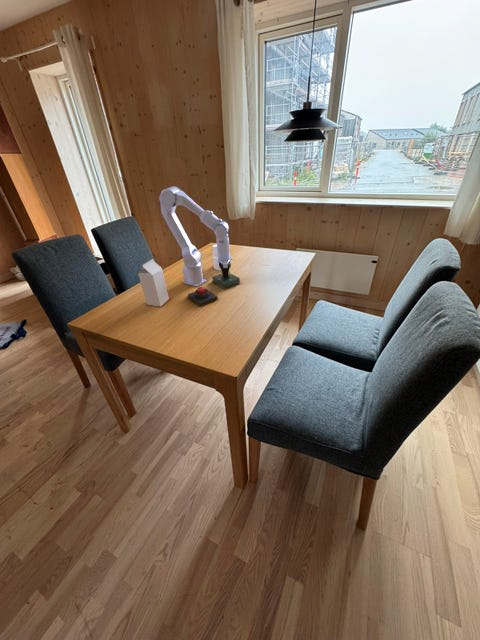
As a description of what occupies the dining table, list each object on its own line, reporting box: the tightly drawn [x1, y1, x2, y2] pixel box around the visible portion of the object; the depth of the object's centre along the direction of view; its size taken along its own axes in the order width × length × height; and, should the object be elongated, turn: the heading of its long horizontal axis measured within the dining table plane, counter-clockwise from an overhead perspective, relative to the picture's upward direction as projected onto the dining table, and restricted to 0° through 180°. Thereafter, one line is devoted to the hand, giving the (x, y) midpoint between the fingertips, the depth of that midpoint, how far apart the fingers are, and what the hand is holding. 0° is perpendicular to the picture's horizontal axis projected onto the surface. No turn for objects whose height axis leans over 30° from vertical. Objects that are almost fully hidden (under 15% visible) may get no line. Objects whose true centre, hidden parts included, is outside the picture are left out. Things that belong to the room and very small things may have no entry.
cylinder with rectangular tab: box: [211, 244, 221, 271], centre depth 146 cm, size 9×9×12 cm
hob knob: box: [219, 268, 231, 278], centre depth 129 cm, size 5×2×4 cm, turn 97°
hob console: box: [211, 272, 241, 290], centre depth 131 cm, size 11×9×3 cm
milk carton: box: [137, 258, 170, 307], centre depth 114 cm, size 7×7×19 cm
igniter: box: [187, 288, 218, 307], centre depth 118 cm, size 11×9×4 cm
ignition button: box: [196, 286, 206, 294], centre depth 117 cm, size 4×4×2 cm
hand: (225, 276), depth 130 cm, fingers closed on hob knob, 2 cm apart
